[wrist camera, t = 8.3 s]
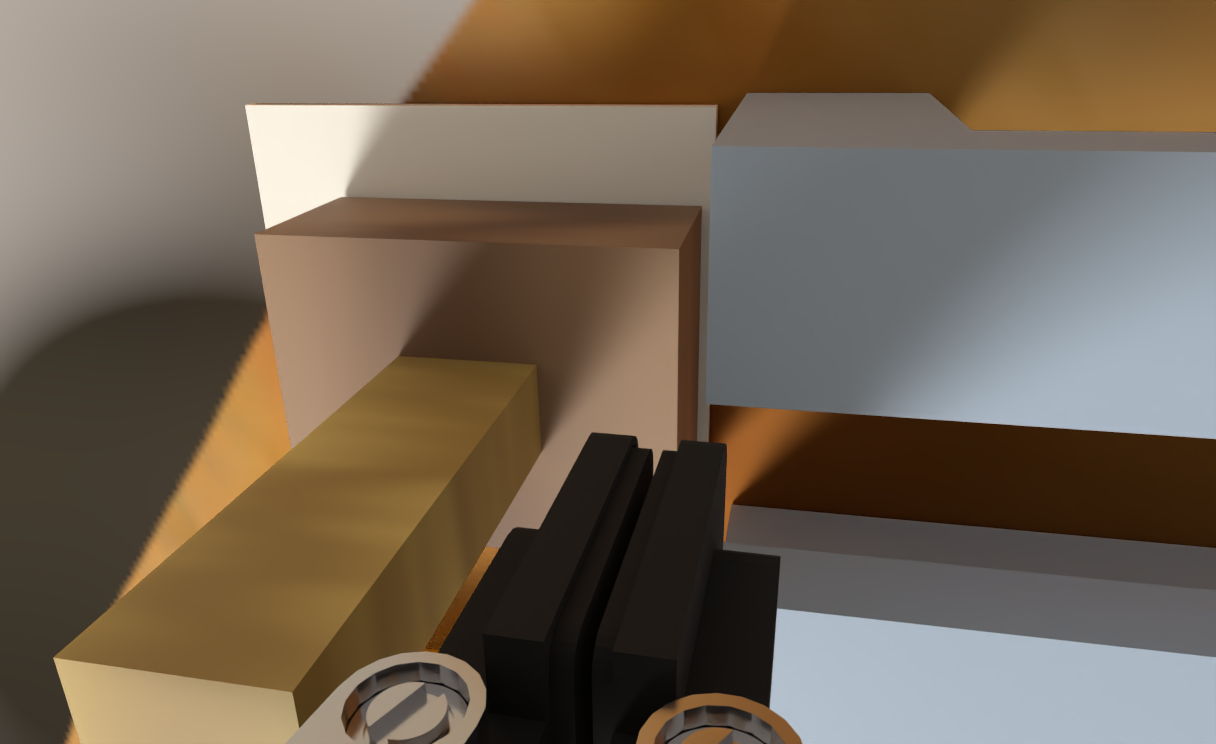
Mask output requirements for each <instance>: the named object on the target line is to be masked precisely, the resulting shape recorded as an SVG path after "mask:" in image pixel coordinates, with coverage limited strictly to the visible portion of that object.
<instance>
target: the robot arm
mask: <svg viewBox="0 0 1216 744" xmlns="http://www.w3.org/2000/svg"><path fill="white" fill-rule="evenodd" d="M726 465H727V445H726V444H723V443H712V442H700V441H689V440H681V442H680V444H679V448H678V451H670V450H663V451H662V454H661V456H660V459H659V462H658V465H657V468H656V470H655V473H654V476H653V451H652V449H647V448H638V439H637V437H636V436H631V435H619V434H608V433H596V432H592V433H591V434H590V435H589V437H588V439H587V441H586V443H585V445H584V446H583V448H582V450H581V452H580V454H579V456H578V458H577V459H576V461H575V463H574V465H573V467H572V469H571V470H570V472H569V474H568V476H567V478H566V480H565V482H564V483H563V485H562V487H561V489H560V491H559V493H558V495H557V496H556V498H555V500H554V502H553V504H552V506H551V508H550V509H549V511H548V513H547V515H546V517H545V519H544V521H543V522H542V524H541V526H540V528H539V529H532V528H523V527H516V528H513V529H512V530H511V531H510V533H509V534H508V535H507V537H506V539H505V540H504V542H503V544H502V545H501V547H500V549H499V550H498V552H497V554H496V555H495V557H494V559H493V560H492V562H491V564H490V566H489V567H488V569H487V571H486V572H485V574H484V576H483V577H482V579H481V581H480V582H479V584H478V586H477V588H476V589H475V591H474V593H473V594H472V596H471V598H470V599H469V601H468V603H467V604H466V606H465V608H464V609H463V611H462V613H461V615H460V616H459V618H458V620H457V621H456V623H455V625H454V626H453V628H452V630H451V631H450V633H449V635H448V637H447V638H446V640H445V642H444V643H443V645H442V647H441V648H440V650H439V652H438V653H434V652H427V651H424V652H411V653H401V654H397V655H394V656H390V657H387V658H383V659H380V660H377V661H375V662H373V663H371V664H369V665H367V666H365V667H363V668H361V669H359V670H358V671H356V672H355V673H354V674H353V675H351V676H350V677H349V678H348V679H347V680H345V681H344V682H343V683H342V684H341V685H339V686H338V688H337V689H336V690H335V691H334V692H333V693H332V694H331V695H330V696H329V697H328V698H327V699H326V700H325V701H324V702H323V704H322V705H321V706H320V707H319V708H318V709H317V710H316V711H315V712H314V713H313V714H312V715H311V716H310V717H309V718H308V720H307V721H306V722H305V723H304V724H303V725H302V726H301V727H300V728H299V729H298V730H297V731H296V732H295V733H294V734H293V736H292V737H291V738H290V739H289V740H288V741H287V742H286V743H285V744H802V741H801V739H800V737H799V735H798V734H797V733H796V732H795V731H794V729H793V728H792V727H791V726H790V725H789V723H788V722H787V721H786V720H785V719H784V718H782V717H781V716H779V715H778V714H777V713H775V712H774V711H772V710H771V709H770V698H771V685H772V672H773V658H774V645H775V631H776V617H777V603H778V589H779V575H780V560H781V556H776V555H767V554H758V553H749V552H740V551H731V550H723V536H724V513H725V489H726Z"/></svg>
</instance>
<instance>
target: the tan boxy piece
mask: <svg viewBox="0 0 1216 744" xmlns="http://www.w3.org/2000/svg"><path fill="white" fill-rule="evenodd" d="M701 225H702V206H680V205H640V204H601V203H561V202H521V201H482V200H442V199H403V198H363V197H340V198H337V199H335V200H333V201H330V202H328V203H326V204H323V205H321V206H319V207H316V208H314V209H312V210H309V211H307V212H305V213H303V214H300V215H298V216H296V217H293V218H291V219H289V220H286V221H284V222H282V223H279V224H277V225H275V226H272V227H270V228H268V229H266V230H263V231H261V232H259V233H256V234H255V241H256V247H257V253H258V258H259V264H260V270H261V276H262V282H263V287H264V293H265V299H266V305H267V311H268V317H269V322H270V328H271V334H272V340H273V346H274V351H275V357H276V363H277V369H278V375H279V380H280V386H281V392H282V398H283V404H284V409H285V415H286V421H287V427H288V433H289V438H290V444H291V451H289V452H288V453H287V454H286V455H285V456H284V457H283V458H281V459H280V460H279V461H278V462H277V463H276V464H274V465H273V466H272V467H271V468H270V469H269V470H268V471H266V472H265V473H264V474H263V475H262V476H261V477H260V478H258V479H257V480H256V481H255V482H254V483H253V484H252V485H250V486H249V487H248V488H247V489H246V490H245V491H244V492H242V493H241V494H240V495H239V496H238V497H237V498H236V499H234V500H233V501H232V502H231V503H230V504H229V505H228V506H226V507H225V508H224V509H223V510H222V511H221V512H220V513H218V514H217V515H216V516H215V517H214V518H213V519H212V520H210V521H209V522H208V523H207V524H206V525H205V526H204V527H202V528H201V529H200V530H199V531H198V532H197V533H196V534H194V535H193V536H192V537H191V538H190V539H189V540H188V541H186V542H185V543H184V544H183V545H182V546H181V547H180V548H178V549H177V550H176V551H175V552H174V553H173V554H172V555H170V556H169V557H168V558H167V559H166V560H165V561H164V562H162V563H161V564H160V565H159V566H158V567H157V568H156V569H154V570H153V571H152V572H151V573H150V574H149V575H148V576H146V577H145V578H144V579H143V580H142V581H141V582H140V583H138V584H137V585H136V586H135V587H134V588H133V589H132V590H130V591H129V592H128V593H127V594H126V595H125V596H124V597H122V598H121V599H120V600H119V601H118V602H117V603H116V604H114V605H113V606H112V607H111V608H110V609H109V610H108V611H106V612H105V613H104V614H103V615H102V616H101V617H100V618H98V619H97V620H96V621H95V622H94V623H93V624H92V625H90V626H89V627H88V628H87V629H86V630H85V631H84V632H82V633H81V634H80V635H79V636H78V637H77V638H75V639H74V641H72V642H71V643H70V644H69V645H67V646H66V647H65V648H64V649H63V650H62V651H61V652H59V653H58V654H57V655H56V656H55V657H54V661H55V664H56V667H57V670H58V674H59V677H60V680H61V683H62V686H63V689H64V693H65V695H66V699H67V702H68V705H69V708H70V712H71V715H72V718H73V721H74V724H75V727H76V730H77V734H78V737H79V740H80V743H81V744H285V743H286V742H287V741H288V740H289V739H290V738H291V737H292V736H293V734H294V733H295V732H296V731H297V730H298V729H299V728H300V727H301V726H302V725H303V724H304V723H305V722H306V721H307V720H308V718H309V717H310V716H311V715H312V714H313V713H314V712H315V711H316V710H317V709H318V708H319V707H320V706H321V705H322V704H323V702H324V701H325V700H326V699H327V698H328V697H329V696H330V695H331V694H332V693H333V692H334V691H335V690H336V689H337V688H338V686H339V685H341V684H342V683H343V682H344V681H345V680H347V679H348V678H349V677H350V676H351V675H353V674H354V673H355V672H356V671H358V670H359V669H361V668H363V667H365V666H367V665H369V664H371V663H373V662H375V661H377V660H380V659H383V658H387V657H390V656H394V655H397V654H401V653H411V652H423V651H424V649H425V648H426V646H427V644H428V643H429V641H430V639H431V638H432V636H433V634H434V633H435V631H436V629H437V628H438V626H439V624H440V622H441V621H442V619H443V617H444V616H445V614H446V612H447V611H448V609H449V607H450V606H451V604H452V602H453V601H454V599H455V597H456V596H457V594H458V592H459V590H460V589H461V587H462V585H463V584H464V582H465V580H466V579H467V577H468V575H469V574H470V572H471V570H472V569H473V567H474V565H475V564H476V562H477V560H478V558H479V557H480V555H481V553H482V552H483V550H484V548H485V547H495V548H500V547H501V545H502V544H503V542H504V540H505V539H506V537H507V535H508V534H509V533H510V531H511V530H512V529H513V528H516V527H523V528H532V529H539V528H540V526H541V524H542V522H543V521H544V519H545V517H546V515H547V513H548V511H549V509H550V508H551V506H552V504H553V502H554V500H555V498H556V496H557V495H558V493H559V491H560V489H561V487H562V485H563V483H564V482H565V480H566V478H567V476H568V474H569V472H570V470H571V469H572V467H573V465H574V463H575V461H576V459H577V458H578V456H579V454H580V452H581V450H582V448H583V446H584V445H585V443H586V441H587V439H588V437H589V435H590V434H591V433H592V432H596V433H608V434H619V435H631V436H636V437H637V439H638V448H647V449H652V451H653V476H654V473H655V470H656V468H657V465H658V462H659V459H660V456H661V454H662V451H663V450H670V451H678V448H679V444H680V442H681V440H689V441H697V419H698V371H699V322H700V274H701Z"/></svg>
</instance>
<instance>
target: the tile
mask: <svg viewBox="0 0 1216 744" xmlns="http://www.w3.org/2000/svg"><path fill="white" fill-rule="evenodd" d="M245 107H246V113H247V119H248V125H249V131H250V137H251V143H252V149H253V155H254V161H255V167H256V173H257V179H258V185H259V191H260V197H261V203H262V209H263V215H264V221H265V227H266V229H268V228H270V227H272V226H275V225H277V224H279V223H282V222H284V221H286V220H289V219H291V218H293V217H296V216H298V215H300V214H303V213H305V212H307V211H309V210H312V209H314V208H316V207H319V206H321V205H323V204H326V203H328V202H330V201H333V200H335V199H337V198H340V197H363V198H403V199H442V200H482V201H521V202H561V203H601V204H640V205H680V206H702V225H701V274H700V322H699V371H698V419H697V441H700V442H709V426H710V404H705V398H706V357H707V315H708V274H709V232H710V190H711V149H712V145H713V143H714V142H715V140H716V139H717V121H718V105H624V104H305V103H304V104H303V103H301V104H300V103H298V104H296V103H295V104H292V103H289V104H288V103H279V104H278V103H276V104H275V103H253V104H248V105H245Z"/></svg>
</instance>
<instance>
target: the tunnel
mask: <svg viewBox="0 0 1216 744" xmlns="http://www.w3.org/2000/svg"><path fill="white" fill-rule="evenodd" d="M705 404H713V405H728V406H743V407H757V408H772V409H786V410H801V411H815V412H830V413H845V414H859V415H874V416H888V417H903V418H918V419H932V420H947V421H961V422H976V423H991V424H1005V425H1020V426H1034V427H1049V428H1064V429H1078V430H1093V431H1107V432H1122V433H1137V434H1151V435H1166V436H1180V437H1195V438H1209V439H1216V132H1126V131H1005V130H971V129H970V128H969V127H967V126H966V125H965V124H964V123H963V122H962V121H961V120H959V119H958V118H957V117H956V116H955V115H954V114H953V113H952V112H950V111H949V110H948V109H947V108H946V107H945V106H944V105H942V104H941V103H940V102H939V101H938V100H937V99H936V98H934V97H933V96H932V95H931V94H930V93H747V94H746V96H745V97H744V98H743V100H742V101H741V103H740V104H739V106H738V107H737V109H736V110H735V112H734V113H733V115H732V116H731V118H730V119H729V121H728V122H727V124H726V125H725V127H724V128H723V130H722V131H721V133H720V134H719V136H718V137H717V139H716V140H715V142H714V143H713V145H712V149H711V190H710V232H709V274H708V315H707V357H706V398H705ZM723 550H731V551H740V552H749V553H758V554H767V555H776V556H781V560H780V575H779V589H778V603H777V617H776V631H775V645H774V658H773V672H772V685H771V698H770V709H771V710H772V711H774V712H775V713H777V714H778V715H779V716H781V717H782V718H784V719H785V720H786V721H787V722H788V723H789V725H790V726H791V727H792V728H793V729H794V731H795V732H796V733H797V734H798V735H799V737H800V739H801V741H802V744H1216V548H1210V547H1199V546H1188V545H1176V544H1165V543H1154V542H1143V541H1132V540H1121V539H1110V538H1099V537H1088V536H1076V535H1065V534H1054V533H1043V532H1032V531H1021V530H1010V529H999V528H988V527H976V526H965V525H954V524H943V523H932V522H921V521H910V520H899V519H888V518H876V517H865V516H854V515H843V514H832V513H821V512H810V511H799V510H788V509H776V508H765V507H754V506H743V505H731V511H730V517H729V524H728V530H727V536H726V542H723Z"/></svg>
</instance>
